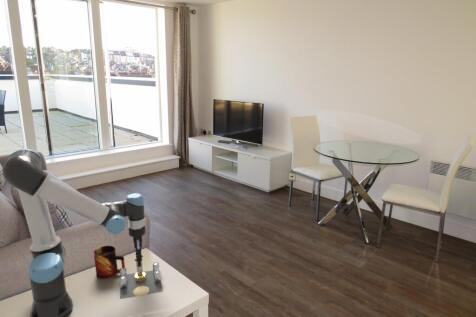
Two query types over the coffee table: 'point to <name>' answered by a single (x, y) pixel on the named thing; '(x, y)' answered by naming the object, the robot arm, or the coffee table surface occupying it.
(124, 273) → the spacer far left
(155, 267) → the spacer far right
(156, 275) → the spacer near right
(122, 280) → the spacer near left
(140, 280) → the nut
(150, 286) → the mat
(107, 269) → the mug
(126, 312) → the coffee table surface
